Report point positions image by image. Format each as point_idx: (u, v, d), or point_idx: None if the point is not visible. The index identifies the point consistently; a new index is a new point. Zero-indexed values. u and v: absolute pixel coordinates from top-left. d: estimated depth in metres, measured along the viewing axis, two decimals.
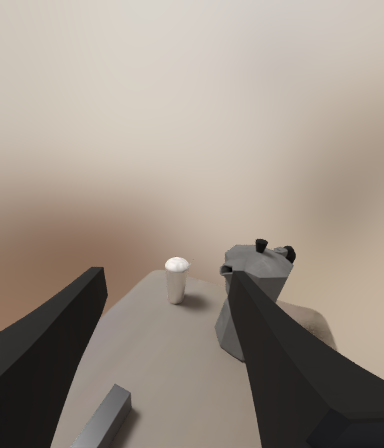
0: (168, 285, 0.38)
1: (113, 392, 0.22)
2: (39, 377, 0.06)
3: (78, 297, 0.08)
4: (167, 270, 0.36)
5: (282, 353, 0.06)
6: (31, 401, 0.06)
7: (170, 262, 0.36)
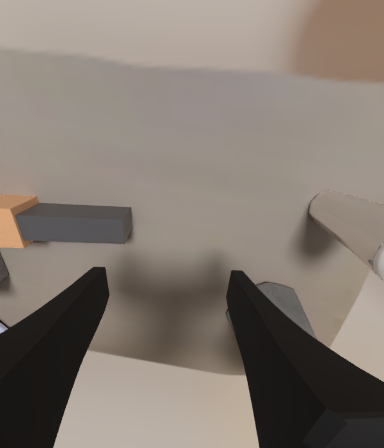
0: (345, 212, 0.14)
1: (113, 224, 0.15)
2: (42, 377, 0.06)
3: (80, 297, 0.08)
4: None
5: (279, 353, 0.06)
6: (34, 401, 0.06)
7: None
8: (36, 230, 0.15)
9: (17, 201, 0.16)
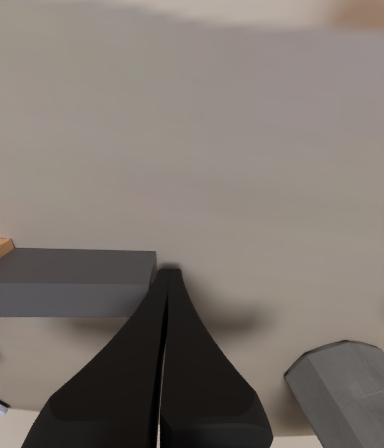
0: None
1: (133, 291, 0.09)
2: (158, 375, 0.06)
3: (166, 298, 0.08)
4: None
5: (165, 354, 0.06)
6: (156, 398, 0.06)
7: None
8: (4, 302, 0.09)
9: None
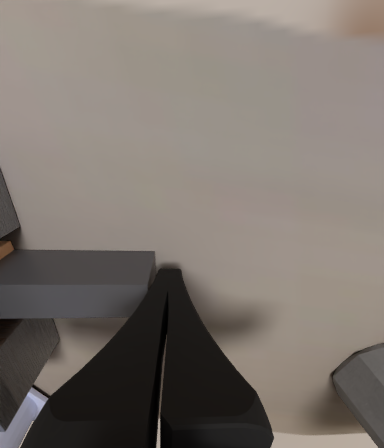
0: None
1: (132, 291, 0.09)
2: (158, 375, 0.06)
3: (166, 298, 0.08)
4: None
5: None
6: (156, 398, 0.06)
7: None
8: (4, 304, 0.09)
9: None
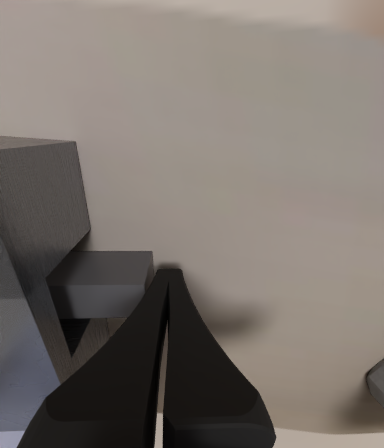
0: None
1: (129, 291, 0.09)
2: (156, 375, 0.06)
3: (164, 298, 0.08)
4: None
5: (167, 354, 0.06)
6: (154, 398, 0.06)
7: None
8: None
9: None
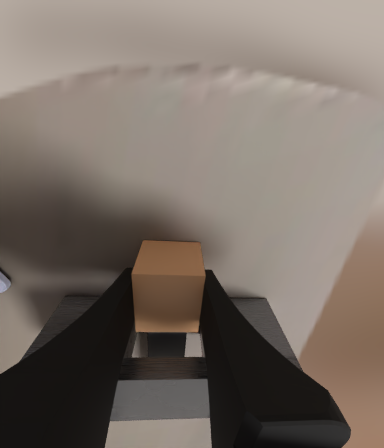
0: None
1: None
2: (100, 376, 0.06)
3: (123, 298, 0.08)
4: None
5: (224, 353, 0.06)
6: (96, 399, 0.06)
7: None
8: (164, 342, 0.11)
9: None
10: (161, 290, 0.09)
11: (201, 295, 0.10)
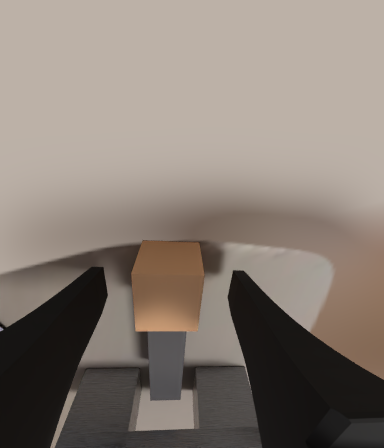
0: None
1: (174, 394, 0.14)
2: (39, 377, 0.06)
3: (78, 297, 0.08)
4: None
5: (282, 353, 0.06)
6: (31, 401, 0.06)
7: None
8: (164, 341, 0.11)
9: None
10: (160, 290, 0.09)
11: (200, 294, 0.10)
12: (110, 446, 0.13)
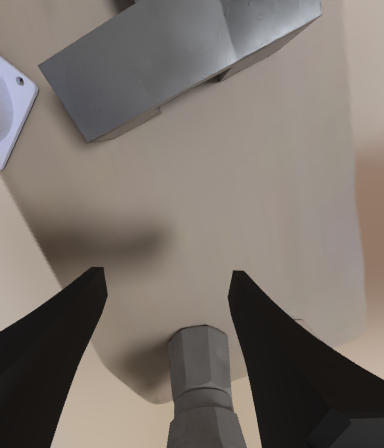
0: None
1: None
2: (39, 377, 0.06)
3: (78, 297, 0.08)
4: None
5: (282, 353, 0.06)
6: (31, 401, 0.06)
7: None
8: None
9: None
10: None
11: None
12: None
